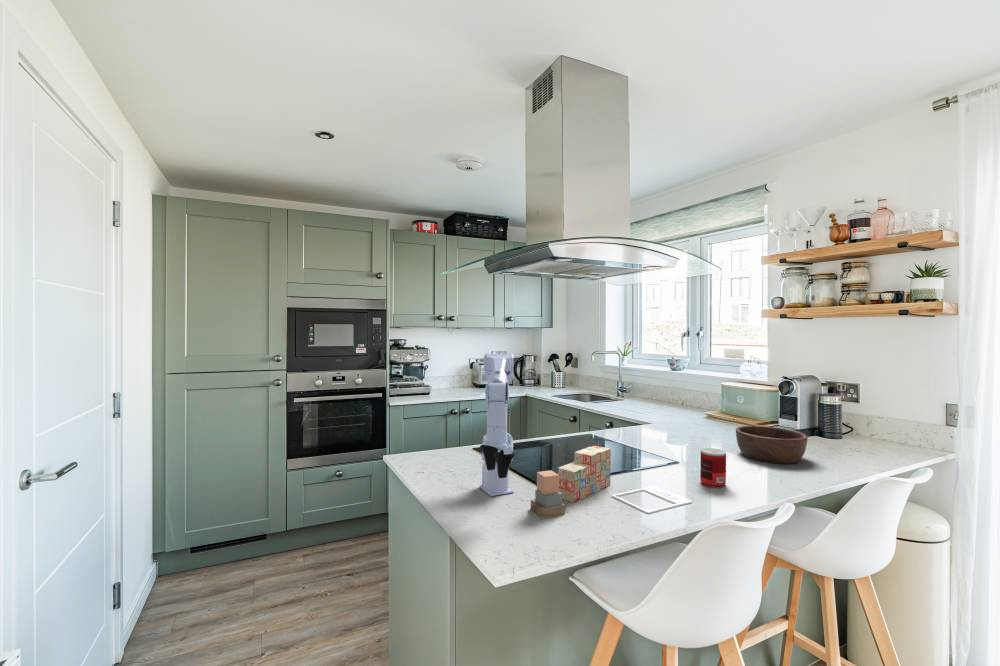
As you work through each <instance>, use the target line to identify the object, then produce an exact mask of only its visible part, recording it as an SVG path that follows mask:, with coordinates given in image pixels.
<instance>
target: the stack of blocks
mask: <svg viewBox="0 0 1000 666" xmlns="http://www.w3.org/2000/svg"><path fill="white" fill-rule="evenodd" d="M611 452H612V450H611V448H608V447H603V446H598V445H592V446H588V447H584V448H582V449H579V450H576V451H574V461H572V462H570V463H567V464H564V465H562V466H559V467H558V468H557V474H558V475H559V492H561V493H563V500H565V501H568V502H572V503H576V502H578V501H581V500H583V499H585V498H587V497H589V496H591V495H593V494H595V493H597V492H599V491H601V490H604V489H605V488H607V487H610V486H611V465H612V464H611V463H612V462H611V461H612V460H611V458H612V457H611Z"/></svg>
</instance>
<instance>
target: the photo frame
mask: <svg viewBox="0 0 1000 666" xmlns="http://www.w3.org/2000/svg"><path fill="white" fill-rule="evenodd" d="M645 491H646V493H647V494H651V495H652V494H653V495H652V496H655V497H658V498H660V499H662V500H665V501H668V502H670V503H672V504H671V505H667V506H666V505H665V506H663V507H659V508H654V509H651V510H650V509H649V510H647V509H644V508H642V507H641V506H639V505H636V504H634V503H631V502H629V501H627V500H626V499H623V498H621V496H625V495H626V494H627V495H631V494H636V493H640V492H645ZM627 495H626V496H627ZM611 497H612V498H613V499H615V500H617V501H620V502H622V503H623V504H625V505H628V506H630V507H633V508H634V509H636V510H638V511H640V512H643V513H645V514H647V515H650V514H654V513H658V512H661V511H666V510H670V509H673V508H677V507H682V506H685V505H689V504H692V503H693V500H691V499H687V498H685V497H684V496H680V495H679V494H676V493H673V492H670V491H668V490H666V489H663V488H660V487H658V486H655V485H653V486H647V487H643V488H638V489H634V490H633V489H632V490H629V491H625V492H620V493H619V492H618V493H616V494H611Z"/></svg>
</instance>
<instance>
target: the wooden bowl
mask: <svg viewBox="0 0 1000 666" xmlns="http://www.w3.org/2000/svg"><path fill="white" fill-rule="evenodd" d="M735 436H736V443H737V446H738V448H739V451H740V453H742V455H744V456H745V457H747V458H749V459H752V460H756V461H760V462H763V463H769V464H770V463H772V464H786V465H787V464H796V463H798V462H799V461H801V460H802V458H803V457H804V455H805V453H806V449H807V445H808V435H807V434H805V433H803V432H802V431H799V430H798V431H796V430H793V429H789V428H784V427H777V426H770V425H769V426H767V425H742V426H738V427H736V428H735Z"/></svg>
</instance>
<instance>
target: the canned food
mask: <svg viewBox="0 0 1000 666" xmlns="http://www.w3.org/2000/svg"><path fill="white" fill-rule="evenodd" d="M700 483H701V485H703V486H705V487H708V486H709V487H708V488H716V489H717V488H719V489H720V488H724V487H725V486H726V484H727V452H726V451H725V450H722V449H720V448H714V447H713V448H712V447H707V448H706V447H705V448H701V449H700Z"/></svg>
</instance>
